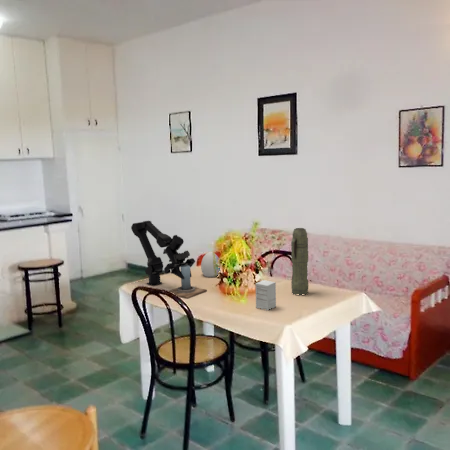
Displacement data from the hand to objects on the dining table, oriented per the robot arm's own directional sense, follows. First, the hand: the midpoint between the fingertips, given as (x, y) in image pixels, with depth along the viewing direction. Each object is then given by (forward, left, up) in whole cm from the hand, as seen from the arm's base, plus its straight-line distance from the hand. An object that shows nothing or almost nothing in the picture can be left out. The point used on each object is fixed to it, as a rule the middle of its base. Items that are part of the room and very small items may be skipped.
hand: (187, 278), depth 266 cm
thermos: (+51, +33, -9) cm, 61 cm away
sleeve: (-1, 0, -7) cm, 7 cm away
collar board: (-1, 0, -8) cm, 9 cm away
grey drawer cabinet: (+49, +3, -9) cm, 50 cm away
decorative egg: (-13, +36, -9) cm, 39 cm away
